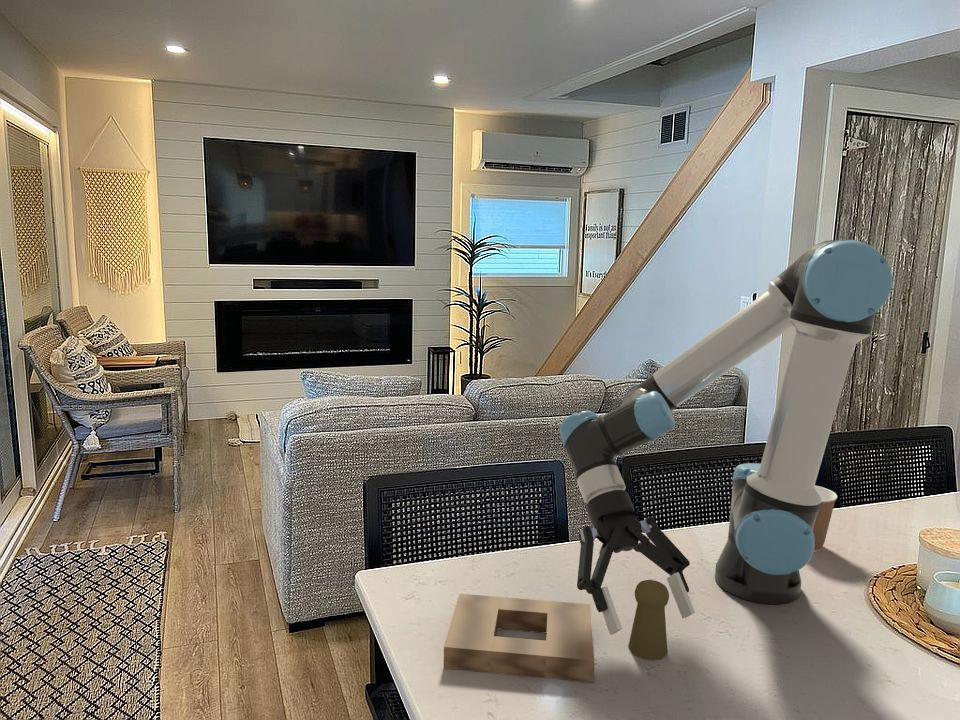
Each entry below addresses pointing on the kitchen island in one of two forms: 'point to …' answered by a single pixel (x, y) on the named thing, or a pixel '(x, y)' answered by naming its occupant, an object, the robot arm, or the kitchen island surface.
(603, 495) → the robot arm
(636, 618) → the cork
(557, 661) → the wooden block with hole
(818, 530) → the coffee cup
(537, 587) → the kitchen island surface
